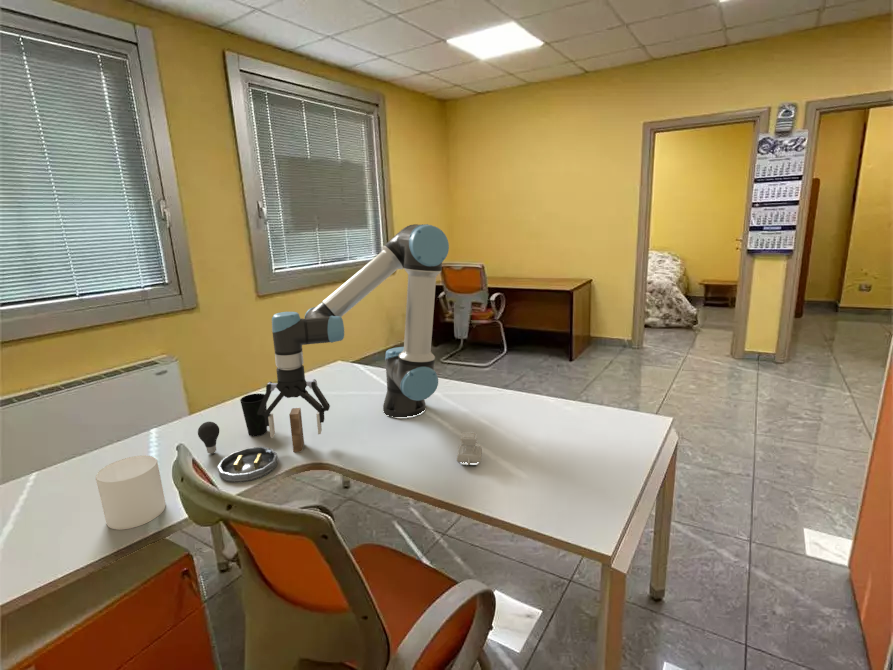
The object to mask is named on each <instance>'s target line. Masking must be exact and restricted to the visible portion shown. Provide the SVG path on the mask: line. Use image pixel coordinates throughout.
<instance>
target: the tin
mask: <svg viewBox="0 0 893 670" xmlns="http://www.w3.org/2000/svg"><path fill="white" fill-rule="evenodd" d="M278 457H279V456H278V454H277V452H276V451H275V450H274V449H273V448H270V447H264V446H255V447H253V446H252V447H246V448H243V449H240V450H237V451H234V452H231V453H230V454H228V455H226V456H224V457H223V458H222V459H221V460H220V461H219V464H218V465H217V472H218V476H219V478H221V480H222V481H225V482H228V483H246V482H251V481H254V480H258V479H260V478H263V477H265V476H266V475H268V474H270V473H271V472H273V471H274V470H275V469H276V467H277V466H278V459H279V458H278Z"/></svg>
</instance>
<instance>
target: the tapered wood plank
mask: <svg viewBox="0 0 893 670" xmlns="http://www.w3.org/2000/svg"><path fill="white" fill-rule="evenodd" d="M288 417H289V424H290V433H291V441H292V450H293V453H297V452H298V453H299V452H302V451H303V449H304V446H305V440H304V439H305V437H304V429H303V420H302V410H301V407H295V408H294V407H293V408H291V410H290V412H289V416H288Z"/></svg>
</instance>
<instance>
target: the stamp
mask: <svg viewBox="0 0 893 670" xmlns="http://www.w3.org/2000/svg"><path fill="white" fill-rule="evenodd" d="M460 441H461V444H460V445H459V446H458V451H457V455H456V456H457V457H456V461H457V462H458V463H459V462H462V463H463V462H464V463H465V462H467V463H468V465H470V463H477V462H479V464H480V463H481V462H482V451H483V447H482V445H477V444H478V438H477V432H461V435H460Z"/></svg>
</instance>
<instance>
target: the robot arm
mask: <svg viewBox="0 0 893 670" xmlns="http://www.w3.org/2000/svg"><path fill="white" fill-rule="evenodd" d="M449 249H450V243H449V240H448V237H447V235H446V234H445V233H444V231H443V230H441V229H440V228H439V227H437V226H435V225H432V224H428V223H427V224H418V223H417V224H416V223H415V224H409V225H407V226H405V227H403V228H402V229H401V230H400V231H399V232H397V233H396V234H395V235H394V236H393V237H392V238H391V239H389V240H388V241H387V242H386V243H385V244H384V245H382V251H380V252H379V253H378V254H377V255H375V257H373V258H372V259H370V261H369V262H367V263H366V264H365V265H364V266H363V267H361V268H360V269H359V270H358V271H357V272H355V274H353V275H352V276H351V277H350V278H348V279H347V280H346V281H345V282H344V283H343V284H341V285H340V286H339V287H338V288H337V289H336V290H334V291H333V292H332V293H330V294H329V295H328V296H327V297H326V298H325V299H323V300H322V302H320V303H319V304H318V305H316V306H313V307H311V308H308V309H307V311H306V312H305V314H304V318H302V317H301V316H300V313H298V312H296V311H283V312H282V311H281V312H277V313H274V314H273V316H272V317H271V332H272V339H273V340H272V341H273V348H274V359H275V366H276V367H277V368H276V378H277V379H276V380H277V382H276V383H273V382H272V381H269V382H268V383H267V384H266V386H265V390H266V391H265V393H264V395H265V396H264V398H263V400H262V403H261V405H260V407H259V410H258V412H257V414H258V415H263V416H264V417H265V425H266V426H267V427H268V428H269V436H270V438H271V439H273V438H274V436H275V434H276V429H275V420H274V413H273V412H272V411H273V410H274V409H275V408H276V406H277V405H278V404H279V403H280V401H281V400H282V399H284V397H285V398H286V399H289V398H299V397H301V399H303V400H305V401H306V402H308V404H309V405H310V406H311V407H313V408H314V409H315V411H316V424H317V425H316V426H317V435H321V434H322V431H323V429H322V423H324V421H325V420H326V419H325V412H326V411H327V412H328V411H329V410H330V408H331V405H330V403H329V401H328V400H327V399H326V397H325V395H324V393H322V391H321V389H320V388H319V385H318V382H317V379H312V380H310V381H307V380H306V375H305V365H304V353H303V346H304V345H315V344H327V343H328V344H329V343H337V342H341V341H343V340H344V338H345V325H344V320H343V318H342V317H343V316H344V315H346V314H347V313H348V312H349V311H350V310H352V309H353V308H354V307H355V306H356V305H357V304H358V303H360V302H361V301H362V300H364V298H365V297H367V296H368V295H369V294H370V293H371V292H372V291H374V290H375V289H376V288H377V287H378V286H380V285H381V284H382V283H384V282H385V281H386V280H387V279H388V278H389V277H391V276H392V275H393V274H394V273H395V272H396V271H397V270H404V271H405V272H406V273H407V286H406V287H407V289H406V293H407V294H406V305H405V307H406V308H405V322H404V325H405V326H404V340H403V346H399V347H393V348H389V349H387V350H386V351H385V358H384V361H385V373H386V374H385V375H386V394H385V398H384V401H383V404H382V407H383V408H382V410H383V411H384V412H383V414H384V413H385V414H386V415H389V416H393V417H407V416H413V415H417V414H419V413H421V412H422V411H424V410H425V408H426V409H427V406H426V405H427V404H426V399H429V398H430V397H431V396H432V395H434V393H435V392H436V391H437V389H438V386H439V377H438V374H437V372H436V370H435V366H436V365H435V363H436V362H435V361H436V355H434V354H433V352H432V351H431V350H432V339H433V338H432V337H433V328H434V327H433V325H434V312H435V311H434V310H435V298H436V285H437V276H438V275H440V274H441V273H442V269H443V262H444V260H445V259H446V258H447V257H448V255H449ZM307 387H309V389H312V392H313V394H314V395H315V396H316V398H317V399H316V398H314V397H313V396H312V394H310V393H309V392H308V390H307V389H306V388H307ZM275 389H277V390H278V391H279V394H278V395H277V396H276V398H275V399H274V400H273V401H272V403H271V404H270V405H269V406H268V407H267V410H264V408H265V406H266V403H268V401H269V398H270V396H271V395H272V392H273V391H274V390H275ZM318 401H319V402H318ZM425 411H426V410H425ZM385 414H384V415H385ZM386 415H385V416H386Z"/></svg>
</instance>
